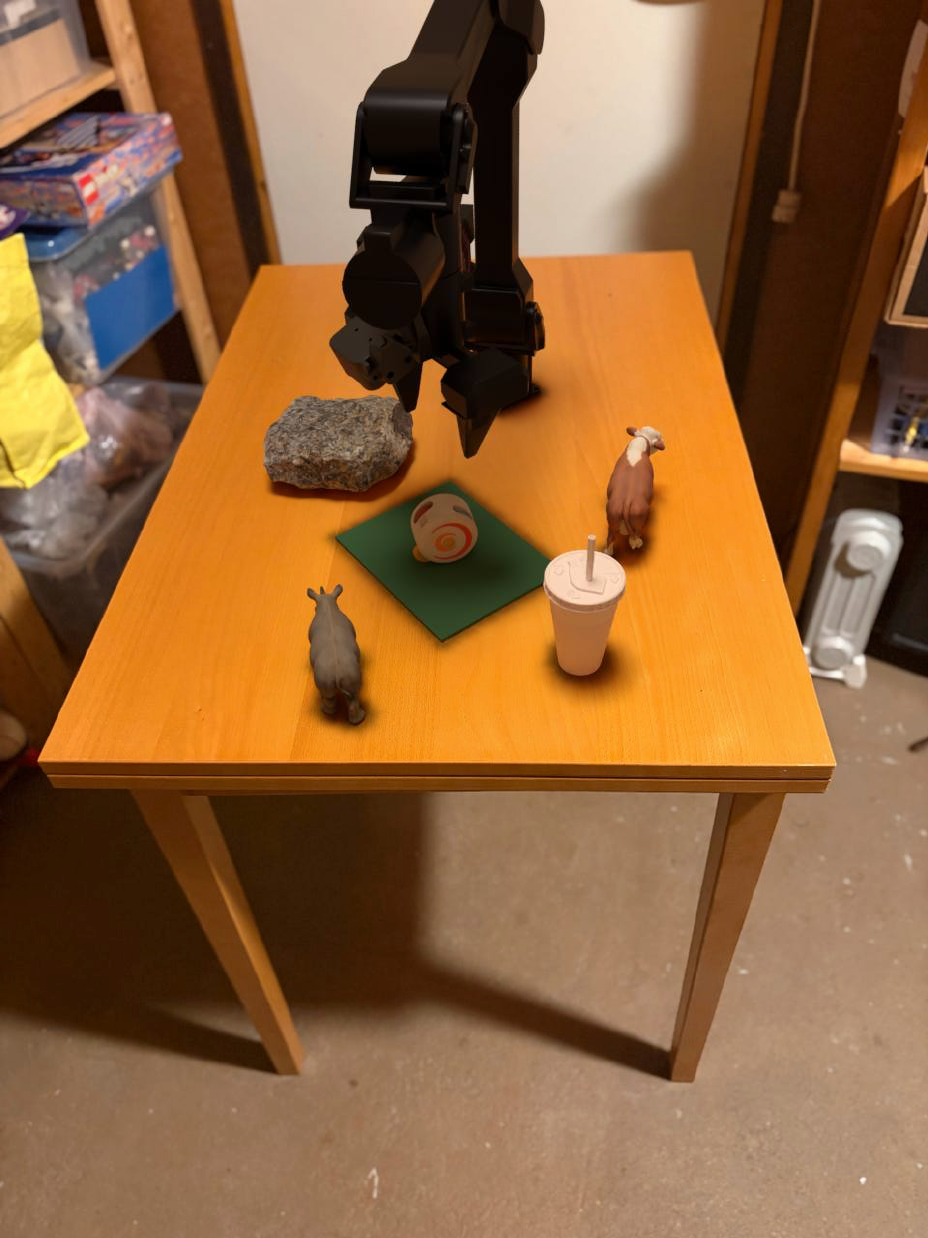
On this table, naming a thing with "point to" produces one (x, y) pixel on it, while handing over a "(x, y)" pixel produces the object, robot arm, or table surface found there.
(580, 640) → the smoothie
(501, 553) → the cloth
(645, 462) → the bull figurine
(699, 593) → the table surface
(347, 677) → the rhino figurine
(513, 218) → the robot arm
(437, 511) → the roller toy
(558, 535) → the table surface
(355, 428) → the rock
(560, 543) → the table surface
